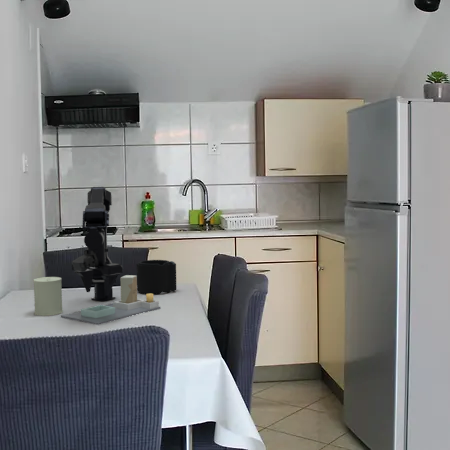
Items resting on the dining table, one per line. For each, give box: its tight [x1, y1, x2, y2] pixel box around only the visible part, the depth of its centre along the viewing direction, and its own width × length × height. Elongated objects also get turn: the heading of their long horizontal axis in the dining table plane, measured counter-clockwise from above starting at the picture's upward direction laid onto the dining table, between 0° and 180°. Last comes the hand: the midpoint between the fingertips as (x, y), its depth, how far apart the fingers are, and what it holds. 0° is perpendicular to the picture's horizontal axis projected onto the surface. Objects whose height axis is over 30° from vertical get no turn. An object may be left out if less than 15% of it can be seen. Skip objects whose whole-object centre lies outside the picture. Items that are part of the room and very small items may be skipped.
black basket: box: [136, 259, 177, 296], centre depth 241 cm, size 14×15×12 cm
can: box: [32, 276, 64, 317], centre depth 205 cm, size 9×9×12 cm
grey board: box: [60, 298, 161, 326], centre depth 204 cm, size 18×28×3 cm, turn 143°
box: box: [120, 274, 138, 304], centre depth 210 cm, size 5×4×11 cm
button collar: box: [141, 299, 160, 309], centre depth 209 cm, size 4×4×2 cm
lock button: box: [145, 293, 155, 303], centre depth 209 cm, size 2×2×3 cm
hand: (97, 293), depth 199 cm, fingers open, 9 cm apart
